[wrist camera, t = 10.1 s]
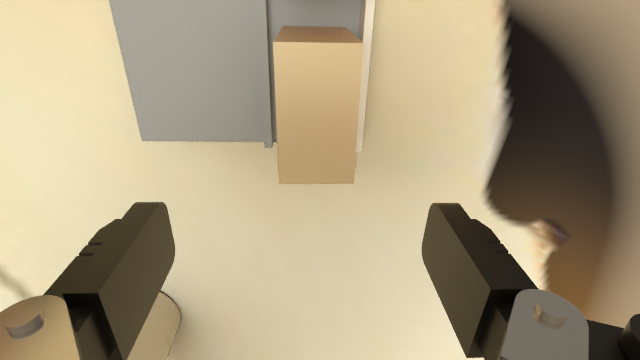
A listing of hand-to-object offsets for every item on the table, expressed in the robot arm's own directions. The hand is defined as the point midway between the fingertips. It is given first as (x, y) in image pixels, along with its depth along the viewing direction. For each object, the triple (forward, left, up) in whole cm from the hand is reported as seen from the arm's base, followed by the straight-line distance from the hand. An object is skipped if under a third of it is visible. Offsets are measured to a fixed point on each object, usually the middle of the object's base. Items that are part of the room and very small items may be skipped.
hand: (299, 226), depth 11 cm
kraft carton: (0, -1, -19) cm, 19 cm away
